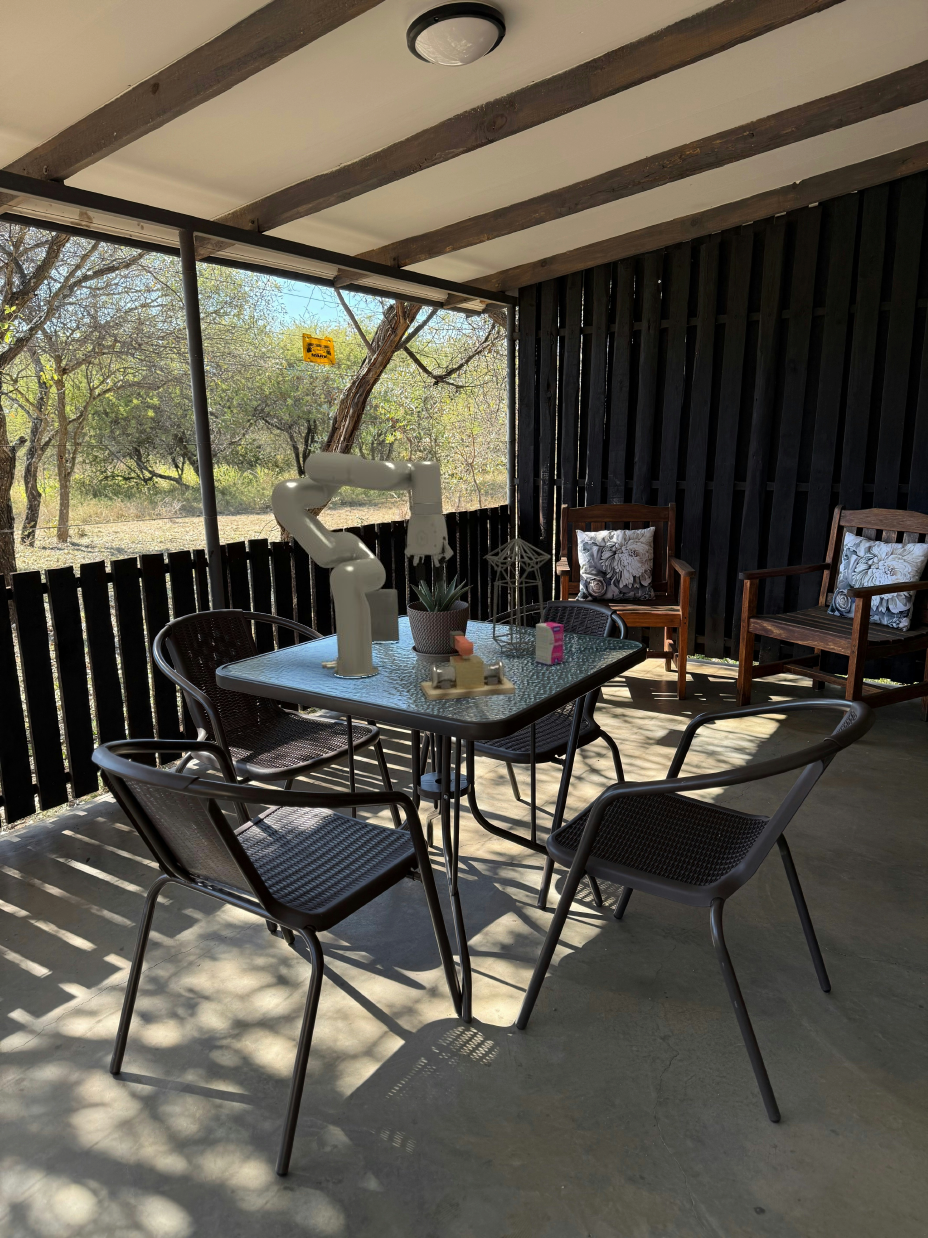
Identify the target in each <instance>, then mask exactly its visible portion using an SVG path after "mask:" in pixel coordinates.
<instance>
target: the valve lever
mask: <svg viewBox="0 0 928 1238" xmlns="http://www.w3.org/2000/svg"><path fill="white" fill-rule="evenodd" d="M449 645H450V646H451V648H453V649H455V650H457V651H458V654H459V656H463V658H465V659H467V658H470V655H475V654H474V642H473V641H470V640H469V639H468V638H467V637H465V633H464V632H462V631H461V630H456V631H449Z"/></svg>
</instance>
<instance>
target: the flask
mask: <svg viewBox="0 0 928 1238" xmlns="http://www.w3.org/2000/svg"><path fill="white" fill-rule="evenodd" d="M364 594H365V597H366V599H367V602H368V604H369V608H370V618H371V638H372V642H374V641H398V640H399V641H400V630H399V629H400V628H399V627H400V626H399V625H400V624H399V623H400V622H399V604H398V603H399V602H398V601H399V600H398V590H397V589H394V588H389V589H388V588H386V589H385V588H383V589H382V588H379V589H377V590H375V591H372V592H368V593H364Z"/></svg>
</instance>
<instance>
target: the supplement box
mask: <svg viewBox="0 0 928 1238" xmlns="http://www.w3.org/2000/svg"><path fill="white" fill-rule="evenodd" d="M535 635H536V637H535V640H536V642H535V644H536V653H535V664H539V665H542V664H543V666H547V667H550V665H551V666H554V665H553V664H555V665H558V664H557V663H561V662H563V663H564V624H560V623H557V622H552V621H551V622H550V621H548V622H544V623H541V622H540V623H537V624H535ZM561 664H562V663H561Z"/></svg>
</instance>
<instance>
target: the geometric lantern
mask: <svg viewBox="0 0 928 1238" xmlns="http://www.w3.org/2000/svg"><path fill="white" fill-rule="evenodd" d="M504 548H505V549H504ZM502 550H503V551H502ZM524 550H525V551H526V553H525V551H524ZM533 550H535V551H536V552H538V553H540V554H542V555H539V556H538V555H537V554H536V553H535V552H534V551H533ZM499 551H502V552H500V553H499V554H498V555H497V556H492V555H494V554H495V553H497V552H499ZM509 551H510V552H509ZM519 555H522V556H523V558H519ZM528 557H529V558H531V559H532V560H530V559H529V558H528ZM551 557H552V556H551V555H550V554H548V553H545V552H544V551H543V550H540V549H538V548H537V547H535V546H533V545H532V544H530V543H528V542H527V541H525V540H523V539H521V538H517V537H516V538H513V539H511V540H510V541H508V542H506V543H505V544H503V545H501V546H500V547H498V548H497V549H495V550H493V551H492V552H490V553H488V554H487V555H484V557H482V558H483V559H486V560H487V561H488V562H489V563H490V564H491V565H492V566H493V568H494V571H497V572H496V578H495V582H493V586H494V587H493V589H494V590H493V610H492V611H493V613H492V614H493V615H492V616H493V617H492V619H493V620H492V640H493V641H494V642H495V643H496V644H497V645H498V646H499V647H500V652H499V653H500V655H506V656H509V657H516V658H517V657H522V656H528V655H531V654H536V639H534V640H528V641H523V639H524V636H525V635H527V636H531V637H535V638H536V634H534V633H529V632H527V621H526V619H527V618H526V589H525V587H527V586H533V585H534V586H535V585H537V586H538V587H537V588H538V596H539V597H538V599H539V609H540V610H539V611H540V621H541V622H540V624H541V623H545V622H544V619H545V617H544V603H543V601H544V600H543V583H542V579H541V574H540V573H541V572H540V569H539V568H540V567H541V566H542V565H543V564H544V563H545V562H547V561H548V560H549V559H550V558H551ZM505 558H506V559H505ZM510 558H511V559H510ZM504 559H505V560H504ZM516 559H517V560H516ZM540 561H541V562H540ZM514 562H518V563H519V565H521V567H523V568H524V569H525V572H524V574H523V575H522V577H521V578H520V577H519V576H518V574H517V573H516V572H515V570H514V569H513V567H512V566H511V565H512V563H514ZM523 562H524V563H526V564H524V563H523ZM536 562H538V563H537V564H536ZM501 563H506V564H501ZM529 564H530V565H529ZM497 565H498V566H497ZM507 567H509V568H510V570H511V571H512V572H513V573H514V575H515V576H516V577H517V578H515V579H509V577H508V576H507V574H506V572H505V571H504V570H505V569H507ZM532 567H533V568H532ZM500 571H501V573H502V574H503V575H504V577H505V580H500V581H498V579H499V576H500V575H499V574H500ZM531 571H534V573H535V576H536V580H530V579H526V576H527V575H528V573H529V572H531ZM537 571H538V572H537ZM513 581H516V584H517V585H515V584H512V583H511V582H513ZM506 582H508V584H505V583H506ZM521 582H522V584H521ZM525 582H532V583H527V584H525ZM499 586H504V587H510V633H509V632H508V633H506V634H500V635H496V627H497V626H496V625H497V623H496V622H497V606H498V595H499V594H498V593H499V592H498V591H499ZM520 587H522V594H523V595H522V599H523V600H522V601H523V602H522V603H523V604H522V605H523V632H522V625H521V609H520V607H521V606H520ZM514 588H516V610H515V611H516V616H515V617H516V618H515V632H514V631H513V630H514V629H513V628H514V627H513V624H514V622H513V620H514V619H513V618H514V617H513V616H514V615H513V614H514V612H513V611H514V610H513V609H514V607H513V605H514V599H513V598H514V592H513V591H514ZM513 635H515V641H513ZM507 636H510V642H509V641H506V640H503V639H499V638H502V637H507ZM518 636H519V641H518ZM500 642H501V643H504V644H503V645H501V643H500ZM531 643H535V644H531ZM518 645H519V646H518ZM522 645H526V646H529V647H523V648H521V647H522ZM509 646H512V647H513V648H512V647H509ZM503 648H504V649H507V650H503ZM512 651H515V654H510V653H508V652H512ZM521 651H529V652H526V653H523V654H522V652H521ZM518 652H519V654H518Z"/></svg>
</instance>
